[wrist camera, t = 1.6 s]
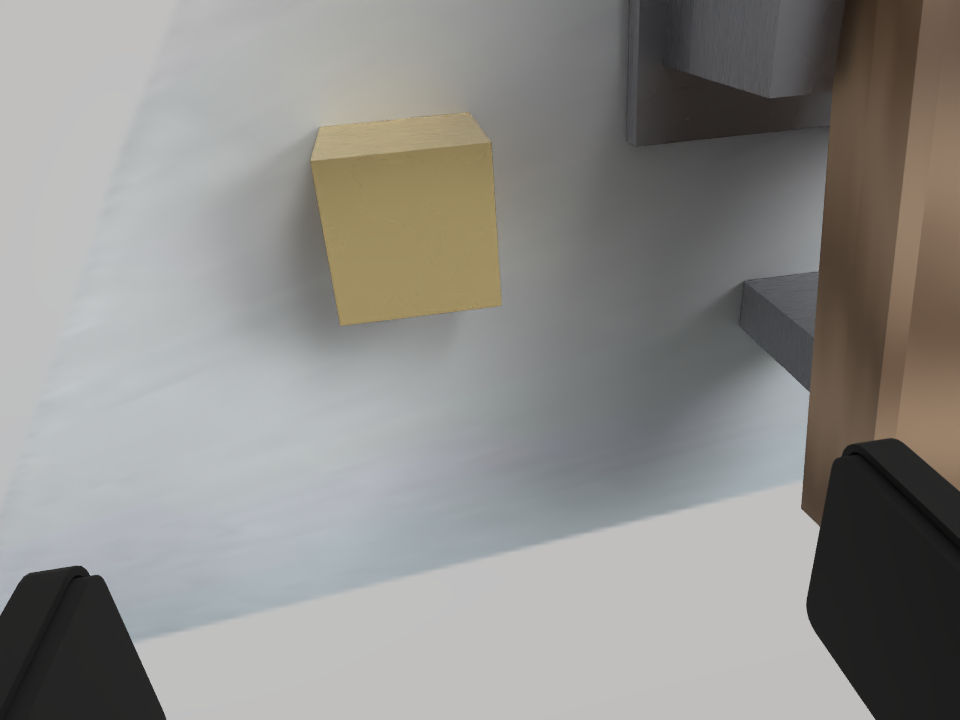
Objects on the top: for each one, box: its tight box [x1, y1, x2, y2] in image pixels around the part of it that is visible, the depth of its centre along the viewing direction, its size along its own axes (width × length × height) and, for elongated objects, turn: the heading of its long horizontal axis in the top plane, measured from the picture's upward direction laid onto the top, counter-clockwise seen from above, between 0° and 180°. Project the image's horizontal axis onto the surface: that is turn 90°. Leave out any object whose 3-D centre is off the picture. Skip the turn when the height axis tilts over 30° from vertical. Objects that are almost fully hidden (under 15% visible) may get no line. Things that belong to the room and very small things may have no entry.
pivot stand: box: [626, 0, 846, 147], centre depth 21 cm, size 8×14×8 cm, turn 94°
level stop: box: [740, 272, 819, 392], centre depth 27 cm, size 2×4×7 cm, turn 94°
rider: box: [310, 112, 502, 326], centre depth 23 cm, size 5×5×5 cm
